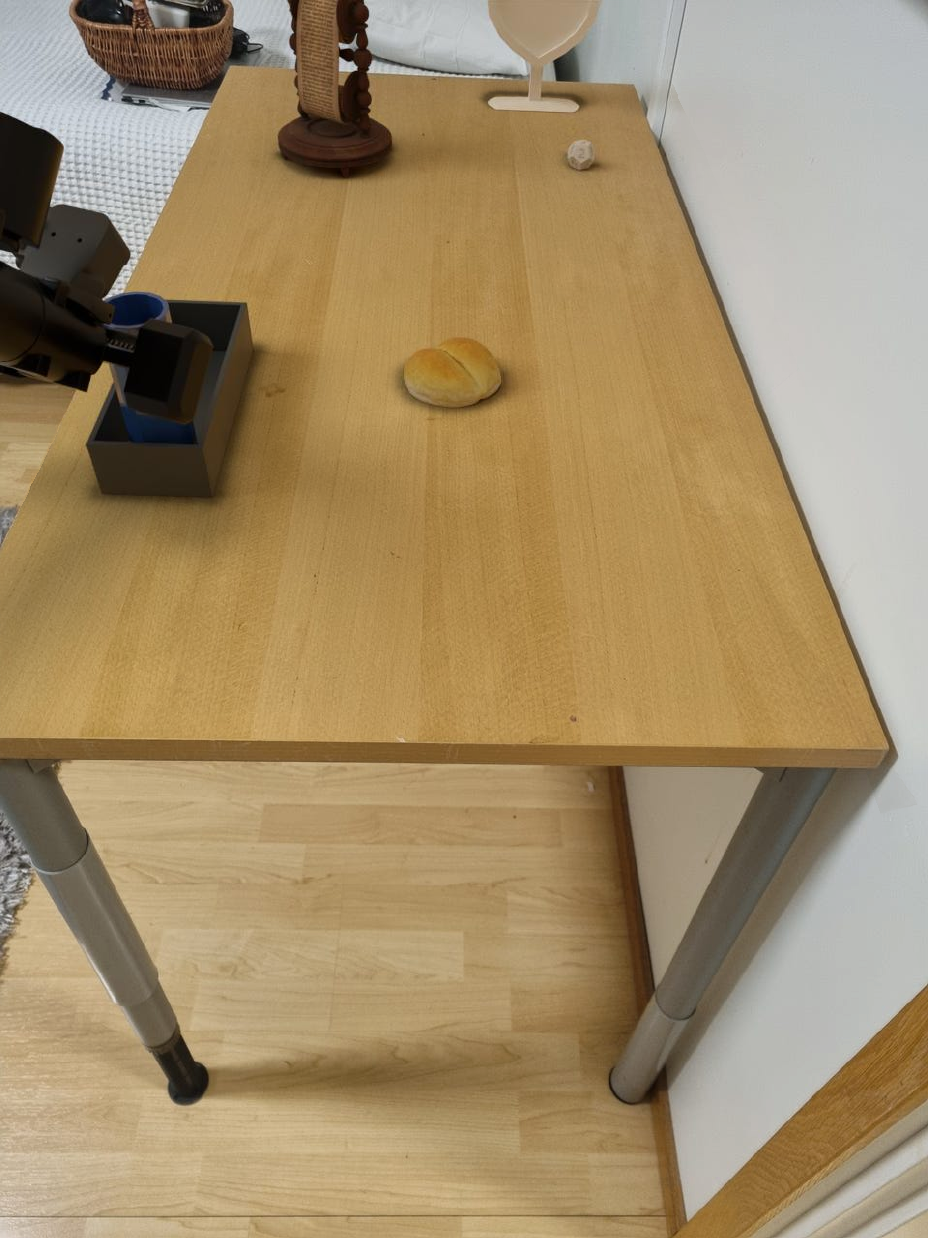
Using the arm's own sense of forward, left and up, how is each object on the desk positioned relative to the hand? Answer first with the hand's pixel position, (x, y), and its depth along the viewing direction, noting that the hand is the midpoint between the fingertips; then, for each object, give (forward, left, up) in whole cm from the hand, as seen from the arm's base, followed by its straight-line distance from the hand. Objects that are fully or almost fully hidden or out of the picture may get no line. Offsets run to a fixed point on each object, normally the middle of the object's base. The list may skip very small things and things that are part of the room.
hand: (144, 377), depth 72 cm
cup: (0, 0, -8) cm, 8 cm away
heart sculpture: (+58, +74, -9) cm, 94 cm away
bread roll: (+27, +7, -9) cm, 29 cm away
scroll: (+26, +61, -9) cm, 66 cm away
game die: (+57, +52, -9) cm, 77 cm away
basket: (+2, +7, -9) cm, 11 cm away
